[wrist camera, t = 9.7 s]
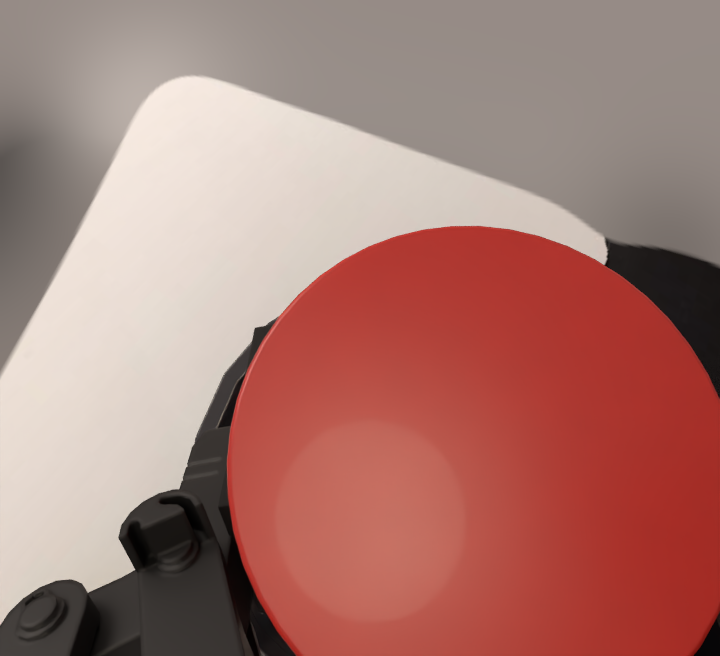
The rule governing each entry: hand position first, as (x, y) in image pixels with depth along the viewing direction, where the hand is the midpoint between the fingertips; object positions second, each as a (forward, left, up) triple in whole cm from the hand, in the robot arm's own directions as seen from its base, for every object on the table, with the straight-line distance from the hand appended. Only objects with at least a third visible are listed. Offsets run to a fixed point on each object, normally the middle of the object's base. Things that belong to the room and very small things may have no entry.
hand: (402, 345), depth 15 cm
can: (-2, +3, -3) cm, 5 cm away
